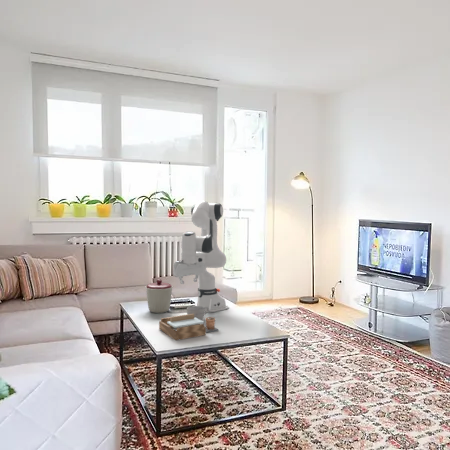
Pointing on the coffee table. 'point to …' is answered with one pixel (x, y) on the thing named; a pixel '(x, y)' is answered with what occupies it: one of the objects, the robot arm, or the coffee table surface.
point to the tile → (211, 330)
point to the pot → (210, 323)
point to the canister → (159, 296)
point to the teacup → (197, 311)
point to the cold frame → (181, 330)
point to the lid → (184, 320)
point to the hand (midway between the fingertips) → (188, 282)
